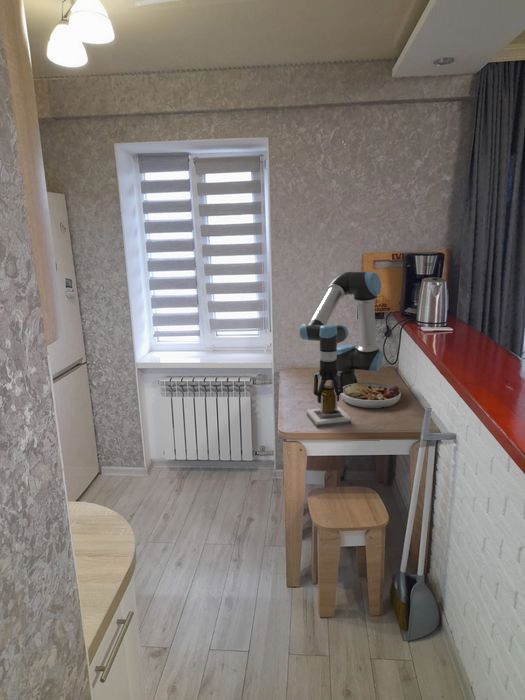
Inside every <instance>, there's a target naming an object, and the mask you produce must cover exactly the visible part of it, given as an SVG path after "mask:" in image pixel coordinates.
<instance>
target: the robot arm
mask: <svg viewBox="0 0 525 700" xmlns="http://www.w3.org/2000/svg"><path fill="white" fill-rule="evenodd" d="M381 290H382V282H381V278H380V275H378V273H377V272H374V271H347V272H346V271H345V272H342V273H341V274H339V275H338V276H336V277H334V278H333V280H332V281H330V283H329V284H328V286H327V288H326V293H325V294H324V296H323V298H322V300H321V302H320V304H319V305H318V307H317V308H316V311H315V312H314V314H313V315H312V317H311V319H310V321H309V322H308V323H303V324H301V325H300V327H299V337H300V339H302V340H305V341H312V342H313V341H314V342H315V341H316V342H319V359H320V360H319V370H318V372H316V373H315V372H314V373H313V374H312V376H313V379H314V380H313V391H312V392H313V395H314V396H315V397H316V396H317V403H318V404H319V408H320V410H323V396H322V392H323V388H324V386H326V383H327V381H330V386H333V387H334V392H335V409H337V407H338V402H339V401H340V396H341V393H343V387H344V386H346V385H350V384H354V383H359V381H358V378H357V375H356V371H365V372H369V373H371V372H375V373H376V372H378V371H379V370H380V369H381V366H382V363H383V359H384V352H383V350H380V346H379V344H377V340H376V339H377V338H376V337H377V336H376V314H375V312H376V311H375V300H377V299H378V296H379V295H380V294H381ZM346 295H351V296H353V299H354V301H355V302H356V303H357V324H358V342H359V343H358V345H357V346H356V345H355V344H343V345H338V344H339V343H341V342H344V341H345V340H346V339H347V338H348V337H349V331H348V327H346V326H345V325H343V324H337V325H335V324H327V323H328V322H329V321H330V318H331V316H332V314H333V313H334V311H335V309H336V307H337V305H338V304H339V302H340V300H342V299H344V297H345V296H346ZM337 345H338V346H337ZM320 377H321V378H320ZM319 378H320V383H319Z"/></svg>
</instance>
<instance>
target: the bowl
mask: <svg viewBox="0 0 525 700" xmlns="http://www.w3.org/2000/svg"><path fill="white" fill-rule="evenodd" d="M401 395H402V392H401V390H400V388H399V387H398V386H395V385H389V384H386V383H380V382H379V383H378V382H358V383H354V384H350V385H346V386H344V387H343V393H341V394H340V397H341V398H342V400H343V401H344V402H346V403H347V404H349V405H352V406H354V407H358V408H364V409H382V407H384V408H387V407H392V406H394V405H395V404H397V403H398V402H399V401H400V400H401Z"/></svg>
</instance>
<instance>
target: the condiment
mask: <svg viewBox="0 0 525 700" xmlns="http://www.w3.org/2000/svg"><path fill="white" fill-rule="evenodd" d="M335 394H336V393H335V390H334V387H333V386H331V385H326V384H325V385H324V388H323V392H322V396H323V410H319V411H320V412H321V413H323V414H324V415H329V414H336V413H342V412H340V411H339V410H338V409H335Z"/></svg>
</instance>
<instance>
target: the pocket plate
mask: <svg viewBox="0 0 525 700" xmlns="http://www.w3.org/2000/svg"><path fill="white" fill-rule="evenodd" d="M337 409H338V410H339V411H340V412H342V413H336V414H329V415H324V414H323V413H321V412H320V411H319V410H320V407H318V408H312V409H306V416H307V417H308V419H309V418H310V419H309V420H310V421H311V423H312V424H313V425H314V426H315V427H316V428H318V429H319V428H327V427H329V428H330V427H338V426H344V425H345V426H346V425H352V417H351V416H350V415H348V414H347V412H346V411H345V410H343V408H341V406H337ZM337 425H338V426H337Z"/></svg>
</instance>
